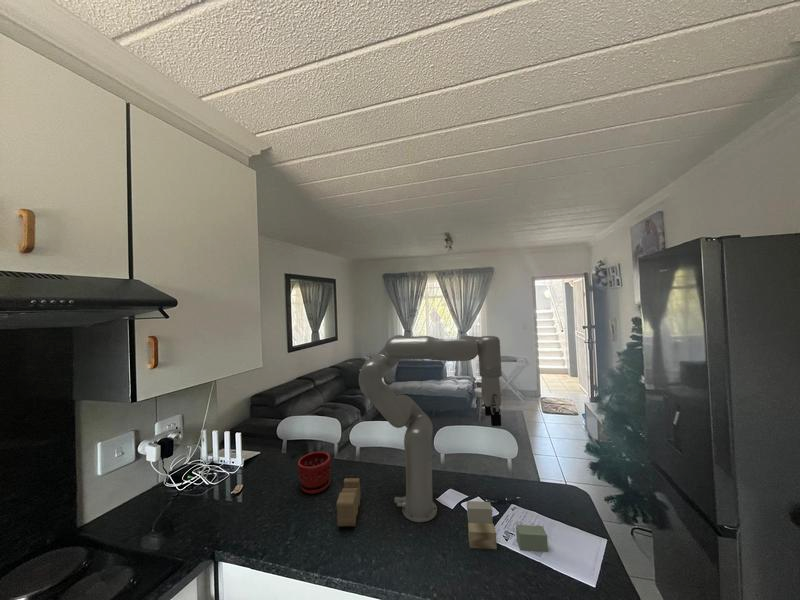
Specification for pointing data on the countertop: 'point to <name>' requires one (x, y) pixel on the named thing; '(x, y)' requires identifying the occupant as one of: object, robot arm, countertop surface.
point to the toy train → (348, 502)
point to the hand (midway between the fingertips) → (492, 420)
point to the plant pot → (314, 472)
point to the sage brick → (531, 538)
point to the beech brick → (482, 535)
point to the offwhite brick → (479, 512)
